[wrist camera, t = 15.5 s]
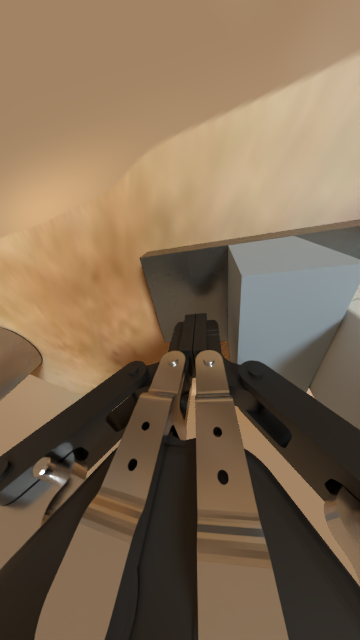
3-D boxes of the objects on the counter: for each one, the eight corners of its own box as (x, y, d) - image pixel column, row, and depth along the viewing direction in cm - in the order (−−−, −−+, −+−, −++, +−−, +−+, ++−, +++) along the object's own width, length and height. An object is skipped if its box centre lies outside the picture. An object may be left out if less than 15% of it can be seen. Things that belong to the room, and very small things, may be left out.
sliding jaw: (227, 341, 16) (235, 400, 11) (228, 245, 11) (241, 276, 6) (271, 340, 15) (300, 404, 10) (293, 235, 10) (370, 263, 5)
